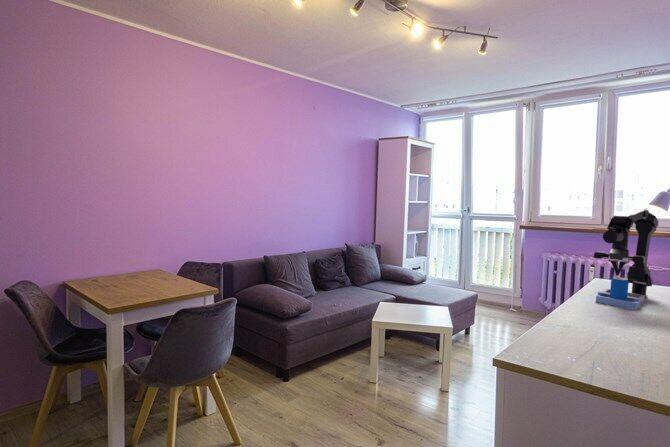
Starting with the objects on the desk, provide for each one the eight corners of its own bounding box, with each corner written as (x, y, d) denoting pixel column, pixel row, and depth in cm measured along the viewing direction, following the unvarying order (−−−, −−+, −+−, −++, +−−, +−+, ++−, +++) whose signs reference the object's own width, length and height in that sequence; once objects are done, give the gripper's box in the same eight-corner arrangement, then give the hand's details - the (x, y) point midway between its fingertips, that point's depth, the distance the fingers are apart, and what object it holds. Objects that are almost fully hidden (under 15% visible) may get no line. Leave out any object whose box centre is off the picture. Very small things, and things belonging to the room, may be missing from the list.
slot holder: (605, 294, 194) (606, 286, 193) (644, 301, 183) (645, 293, 182) (595, 302, 179) (595, 293, 179) (636, 310, 168) (637, 301, 168)
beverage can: (620, 302, 180) (623, 277, 179) (629, 306, 174) (632, 280, 173) (606, 301, 181) (608, 276, 180) (614, 305, 174) (616, 279, 173)
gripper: (592, 241, 178) (589, 274, 180) (643, 246, 165) (639, 282, 166) (597, 239, 186) (595, 271, 187) (647, 243, 173) (643, 278, 174)
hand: (617, 275), depth 179 cm, fingers closed
